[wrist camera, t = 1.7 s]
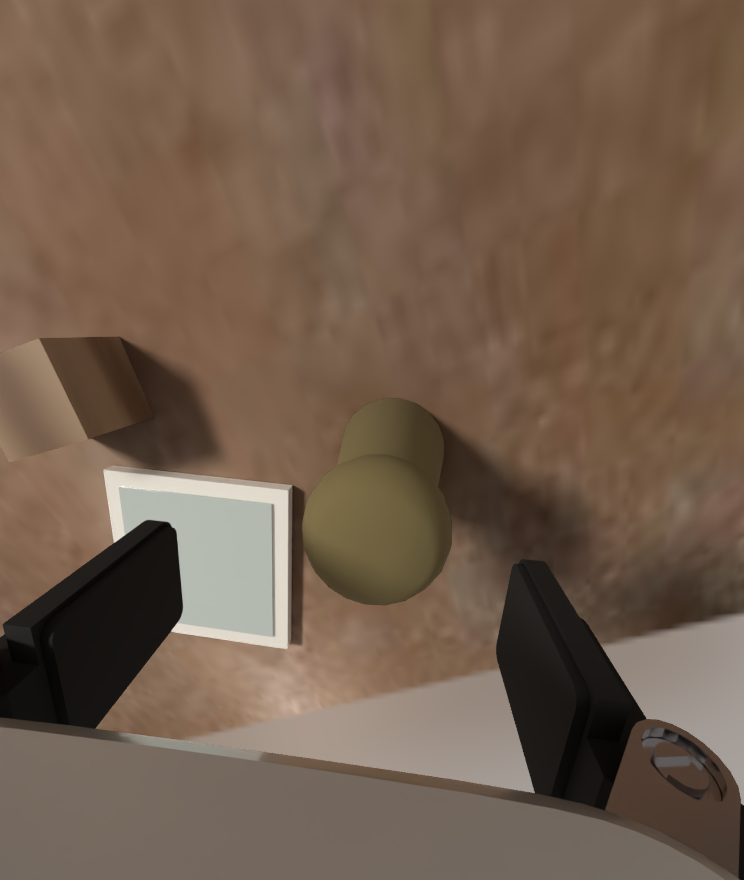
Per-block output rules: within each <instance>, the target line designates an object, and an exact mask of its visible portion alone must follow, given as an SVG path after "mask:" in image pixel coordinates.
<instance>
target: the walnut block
mask: <svg viewBox="0 0 744 880" xmlns="http://www.w3.org/2000/svg"><path fill="white" fill-rule="evenodd" d="M151 418H154V414H153V412H152V410H151V408H150V405H149V403H148V401H147V399H146V396H145V394H144V392H143V389H142V387H141V385H140V383H139V380H138V378H137V376H136V373H135V371H134V369H133V367H132V364H131V362H130V360H129V357H128V355H127V353H126V351H125V348H124V346H123V344H122V341H121V339H120V337H81V338H39V339H36V340H33V341H30V342H28V343H25V344H22V345H19V346H17V347H14V348H11V349H8V350H5V351H3V352H0V446H1V448H2V449H3V451H4V453H5V455H6V457H7V459H8V460H9V462H12V461H15V460H19V459H22V458H26V457H29V456H32V455H36V454H39V453H43V452H46V451H50V450H53V449H56V448H60V447H63V446H67V445H70V444H74V443H77V442H81V441H84V440H87V439H91V438H94V437H97V436H100V435H103V434H106V433H109V432H112V431H115V430H118V429H121V428H124V427H127V426H130V425H133V424H136V423H139V422H142V421H145V420H148V419H151Z"/></svg>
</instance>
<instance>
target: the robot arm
mask: <svg viewBox="0 0 744 880" xmlns="http://www.w3.org/2000/svg"><path fill="white" fill-rule="evenodd" d="M182 612H183V599H182V588H181V576H180V565H179V553H178V542H177V532H176V529H175V528H172V526H171V524H170V523H169V522H165V521H155V520H146V521H144V522H142V523H141V524H140V525H138V526H137V527H135V528H134V529H133V530H131V531H130V532H129V533H127V534H126V535H124V536H123V537H122V538H120V539H119V540H118V541H116V542H115V543H113V544H112V545H111V546H109V547H108V548H107V549H105V550H104V551H103V552H101V553H100V554H98V555H97V556H96V557H94V558H93V559H92V560H90V561H89V562H87V563H86V564H85V565H83V566H82V567H81V568H79V569H78V570H76V571H75V572H74V573H72V574H71V575H70V576H68V577H67V578H65V579H64V580H63V581H61V582H60V583H59V584H57V585H56V586H54V587H53V588H52V589H50V590H49V591H48V592H46V593H45V594H44V595H42V596H41V597H39V598H38V599H37V600H35V601H34V602H33V603H31V604H30V605H28V606H27V607H26V608H24V609H23V610H22V611H20V612H19V613H17V614H16V615H15V616H13V617H12V618H11V619H9V620H8V621H6V622H5V623H4V624H3V628H4V632H5V634H4V635H3V636H2V637H0V880H744V805H742V804H741V798H740V793H739V788H738V785H737V783H736V782H735V780H734V778H733V776H732V774H731V772H730V771H729V770H728V768H727V767H726V766H725V765H724V763H723V762H722V761H721V760H720V758H719V757H718V756H717V755H716V754H715V753H714V752H713V751H711V750H710V749H709V748H708V747H707V746H706V745H705V744H704V743H703V742H701V741H700V740H698V739H697V738H695V737H694V736H693V735H691V734H690V733H688V732H687V731H684V730H683V729H681V728H679V727H677V726H674V725H673V724H670V723H667V722H663V721H660V720H651V719H646V717H645V716H644V714H643V712H642V711H641V709H640V708H639V706H638V704H637V703H636V701H635V700H634V698H633V696H632V695H631V693H630V692H629V690H628V688H627V687H626V685H625V684H624V682H623V681H622V679H621V677H620V676H619V674H618V673H617V671H616V669H615V668H614V666H613V664H612V663H611V661H610V660H609V658H608V656H607V655H606V653H605V652H604V650H603V648H602V647H601V645H600V644H599V642H598V640H597V639H596V637H595V636H594V634H593V632H592V631H591V629H590V628H589V626H588V624H587V623H586V622H585V621H584V620H583V619H581V618H579V616H578V614H577V613H576V611H575V609H574V608H573V606H572V605H571V603H570V601H569V600H568V598H567V596H566V595H565V593H564V591H563V590H562V588H561V587H560V585H559V583H558V582H557V580H556V578H555V577H554V575H553V574H552V572H551V570H550V569H549V567H548V565H547V564H546V563H545V562H543V561H535V560H525V559H522V560H521V561H520V563H519V564H514V565H513V566H512V570H511V575H510V580H509V585H508V590H507V595H506V600H505V605H504V610H503V615H502V620H501V625H500V630H499V635H498V640H497V646H496V654H497V660H498V664H499V668H500V671H501V674H502V678H503V682H504V685H505V689H506V692H507V696H508V699H509V703H510V707H511V710H512V714H513V717H514V721H515V724H516V727H517V731H518V735H519V738H520V742H521V745H522V749H523V752H524V756H525V759H526V763H527V766H528V770H529V773H530V777H531V780H532V784H533V788H534V791H535V793H530V792H524V791H518V790H512V789H506V788H500V787H494V786H488V785H482V784H476V783H470V782H464V781H458V780H452V779H445V778H439V777H432V776H425V775H418V774H412V773H405V772H398V771H391V770H384V769H378V768H371V767H364V766H357V765H350V764H344V763H337V762H330V761H323V760H316V759H310V758H302V757H295V756H288V755H281V754H274V753H267V752H260V751H253V750H246V749H239V748H232V747H225V746H217V745H210V744H203V743H196V742H189V741H182V740H174V739H167V738H160V737H152V736H145V735H137V734H130V733H122V732H115V731H108V730H100V729H95V728H96V727H97V725H98V724H99V723H100V722H101V720H102V719H103V718H104V716H105V715H106V714H107V713H108V711H109V710H110V709H111V707H112V706H113V705H114V704H115V702H116V701H117V700H118V699H119V697H120V696H121V695H122V693H123V692H124V691H125V690H126V688H127V687H128V686H129V684H130V683H131V682H132V681H133V679H134V678H135V677H136V675H137V674H138V673H139V672H140V670H141V669H142V668H143V666H144V665H145V664H146V663H147V661H148V660H149V659H150V657H151V656H152V655H153V654H154V652H155V651H156V650H157V648H158V647H159V646H160V645H161V643H162V642H163V641H164V639H165V638H166V637H167V636H168V634H169V633H170V632H171V630H172V629H173V628H174V627H175V625H176V624H177V623H178V621H179V620H180V618H181V615H182Z"/></svg>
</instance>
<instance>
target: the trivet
mask: <svg viewBox="0 0 744 880" xmlns="http://www.w3.org/2000/svg"><path fill="white" fill-rule="evenodd" d="M104 477H105V484H106V491H107V498H108V505H109V511H110V518H111V525H112V532H113V539H114V543H115V542H116V541H118V540H119V539H120V538H122V537H123V536H124V535H126V534H127V533H129V532H130V531H131V530H133V529H134V528H135V527H137V526H138V525H140V524H141V523H142V522H144V521H146V520H155V521H165V522H169V523H170V524H171V526H172V528H175V529H176V532H177V542H178V553H179V565H180V576H181V588H182V599H183V612H182V615H181V618H180V620H179V621H178V623H177V624H176V625H175V627H174V628H173V629H172V630H171V632H177V633H183V634H190V635H197V636H203V637H210V638H217V639H223V640H230V641H237V642H243V643H250V644H256V645H263V646H270V647H276V648H283V649H288V647H289V644H290V642H291V604H292V485H286V484H277V483H268V482H259V481H250V480H241V479H231V478H222V477H213V476H204V475H195V474H186V473H177V472H168V471H159V470H150V469H141V468H132V467H123V466H114V465H113V466H111V467H109V468H106V469H104Z"/></svg>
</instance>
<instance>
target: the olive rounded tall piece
mask: <svg viewBox="0 0 744 880" xmlns="http://www.w3.org/2000/svg"><path fill="white" fill-rule="evenodd" d="M443 459H444V439H443V436H442V433H441V430H440V426H439V425H438V423H437V422H436V421H435V419H434V418H433V417H432V415H431V414H430V413H429V412H428V411H426V410H425V409H423V408H422V407H420V406H419V405H418V404H416V403H413V402H410V401H407V400H403V399H400V398H391V399H380V400H377V401H375V402H372V403H369V404H367V405H365V406H364V407H363V408H361V409H360V410H359V411H358V412H356V413H355V414H354V415H353V417H352V418H351V420H350V421H349V423H348V424H347V426H346V428H345V432H344V435H343V439H342V443H341V448H340V453H339V458H338V463H337V467H335V468H334V469H333V470H331V471H330V472H329V473H327V474H326V475H324V477H323V478H322V480H321V481H320V483H319V484H318V486H317V487H316V488H315V490H314V491H313V493H312V494H311V496H310V497H309V499H308V501H307V505H306V509H305V513H304V517H303V523H302V533H303V543H304V549H305V552H306V554H307V556H308V558H309V561H310V563H311V565H312V567H313V569H314V570H315V572H316V573H317V575H318V576H319V577H320V578H321V579H322V580H323V581H324V582H325V584H326V585H327V586H328V587H329V588H331V589H332V590H334V591H335V592H337V593H338V594H340V595H342V596H343V597H345V598H347V599H350V600H353V601H356V602H359V603H362V604H368V605H389V604H393V603H398V602H402V601H406V600H407V599H409V598H411V597H412V596H414V595H416V594H418V593H419V592H421V591H423V590H424V589H426V588H427V587H428V586H429V585H430V584H431V583H432V582H433V580H434V579H435V578H436V577H437V576H438V575H439V574H440V573H441V571H442V569H443V566H444V564H445V561H446V559H447V556H448V554H449V551H450V548H451V544H452V520H451V516H450V512H449V509H448V506H447V504H446V501H445V498H444V495H443V493H442V492H441V491H440V489H439V488H438V485H439V480H440V475H441V470H442V464H443Z"/></svg>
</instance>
